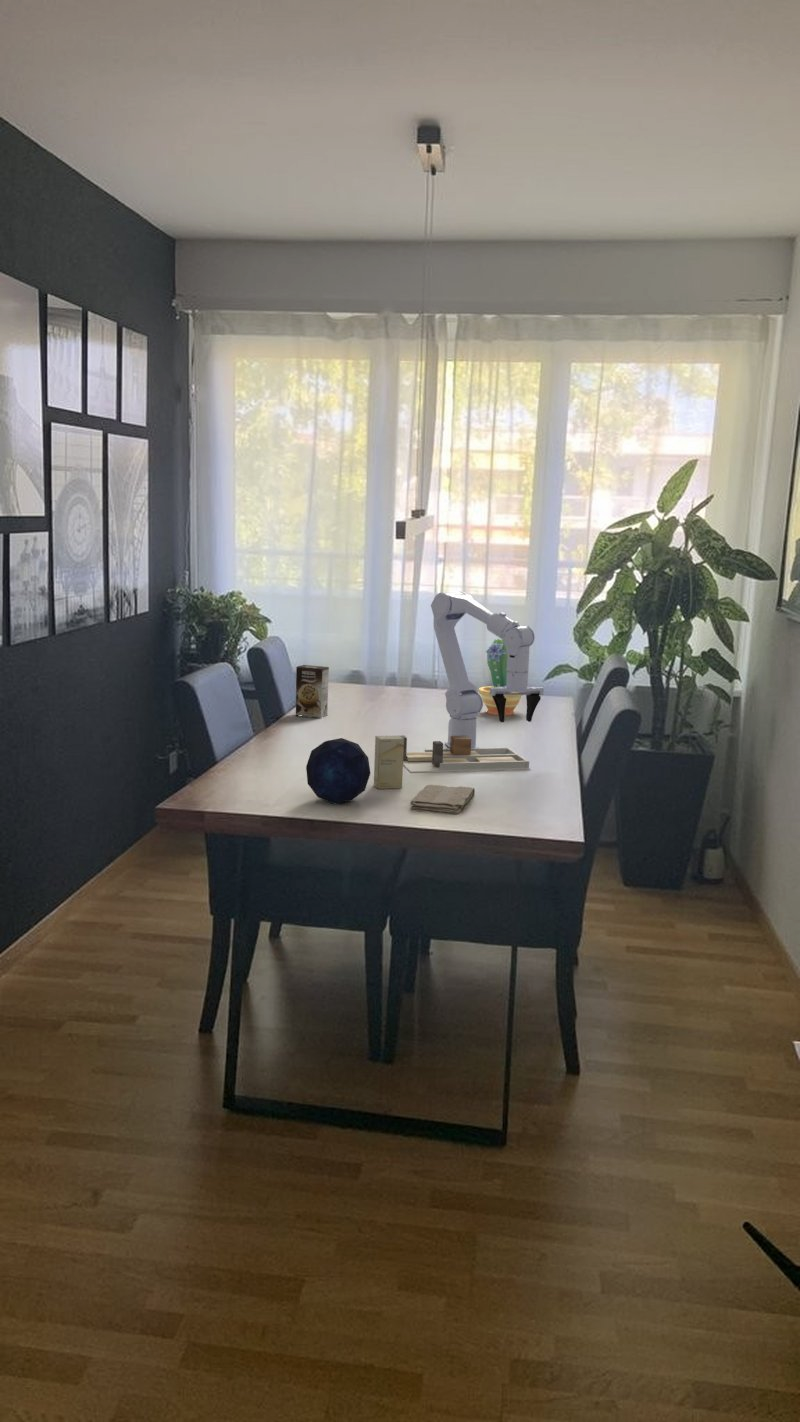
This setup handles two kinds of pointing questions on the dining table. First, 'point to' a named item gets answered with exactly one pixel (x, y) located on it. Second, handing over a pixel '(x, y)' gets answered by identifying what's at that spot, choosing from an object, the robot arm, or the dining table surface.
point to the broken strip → (438, 758)
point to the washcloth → (442, 799)
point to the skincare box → (388, 762)
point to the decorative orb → (338, 770)
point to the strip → (423, 753)
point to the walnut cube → (460, 745)
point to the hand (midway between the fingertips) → (515, 721)
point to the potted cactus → (498, 678)
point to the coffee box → (312, 691)
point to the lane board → (471, 762)
